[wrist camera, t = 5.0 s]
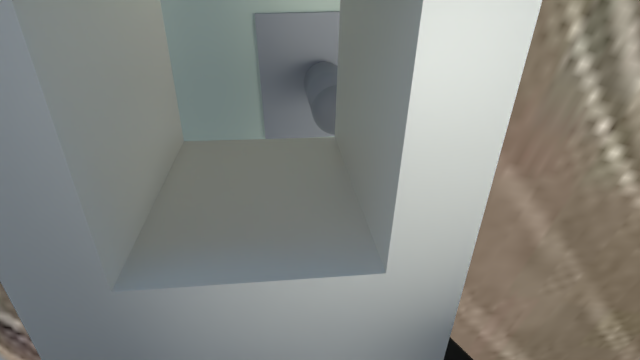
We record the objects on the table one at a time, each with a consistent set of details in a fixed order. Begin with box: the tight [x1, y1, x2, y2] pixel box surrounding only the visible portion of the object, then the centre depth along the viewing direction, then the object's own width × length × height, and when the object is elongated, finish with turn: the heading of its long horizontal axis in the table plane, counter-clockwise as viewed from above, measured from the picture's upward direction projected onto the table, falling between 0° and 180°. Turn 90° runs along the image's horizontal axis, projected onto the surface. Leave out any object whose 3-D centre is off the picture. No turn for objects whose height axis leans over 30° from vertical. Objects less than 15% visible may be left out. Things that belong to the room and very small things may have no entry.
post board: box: [160, 0, 340, 141], centre depth 17 cm, size 14×22×6 cm, turn 0°
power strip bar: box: [0, 0, 542, 360], centre depth 8 cm, size 5×16×4 cm, turn 179°
